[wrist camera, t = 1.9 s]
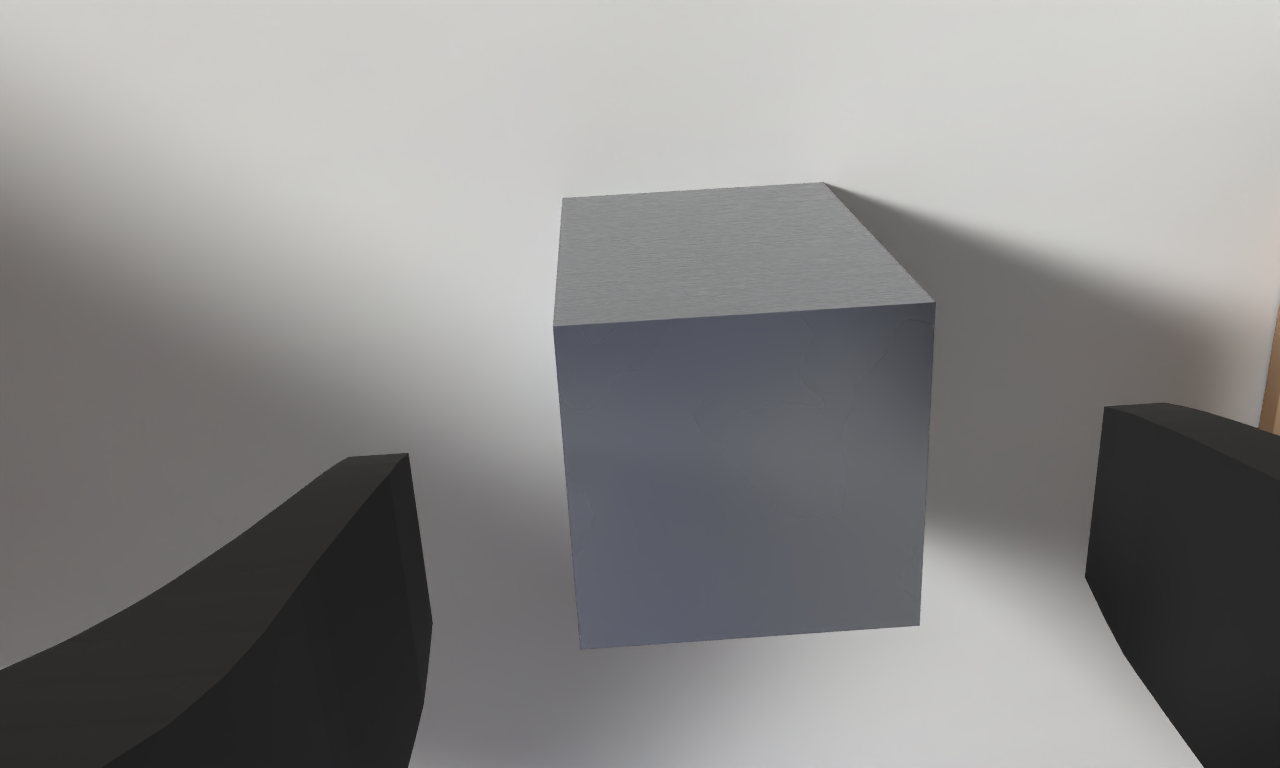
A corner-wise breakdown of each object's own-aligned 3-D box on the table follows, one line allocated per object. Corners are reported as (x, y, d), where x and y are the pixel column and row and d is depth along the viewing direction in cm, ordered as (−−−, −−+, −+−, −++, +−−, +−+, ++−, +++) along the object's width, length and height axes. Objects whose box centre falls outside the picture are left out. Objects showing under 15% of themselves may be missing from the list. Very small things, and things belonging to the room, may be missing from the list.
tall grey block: (820, 419, 19) (919, 625, 13) (580, 435, 19) (580, 650, 13) (823, 181, 17) (934, 302, 12) (562, 198, 17) (553, 326, 12)
